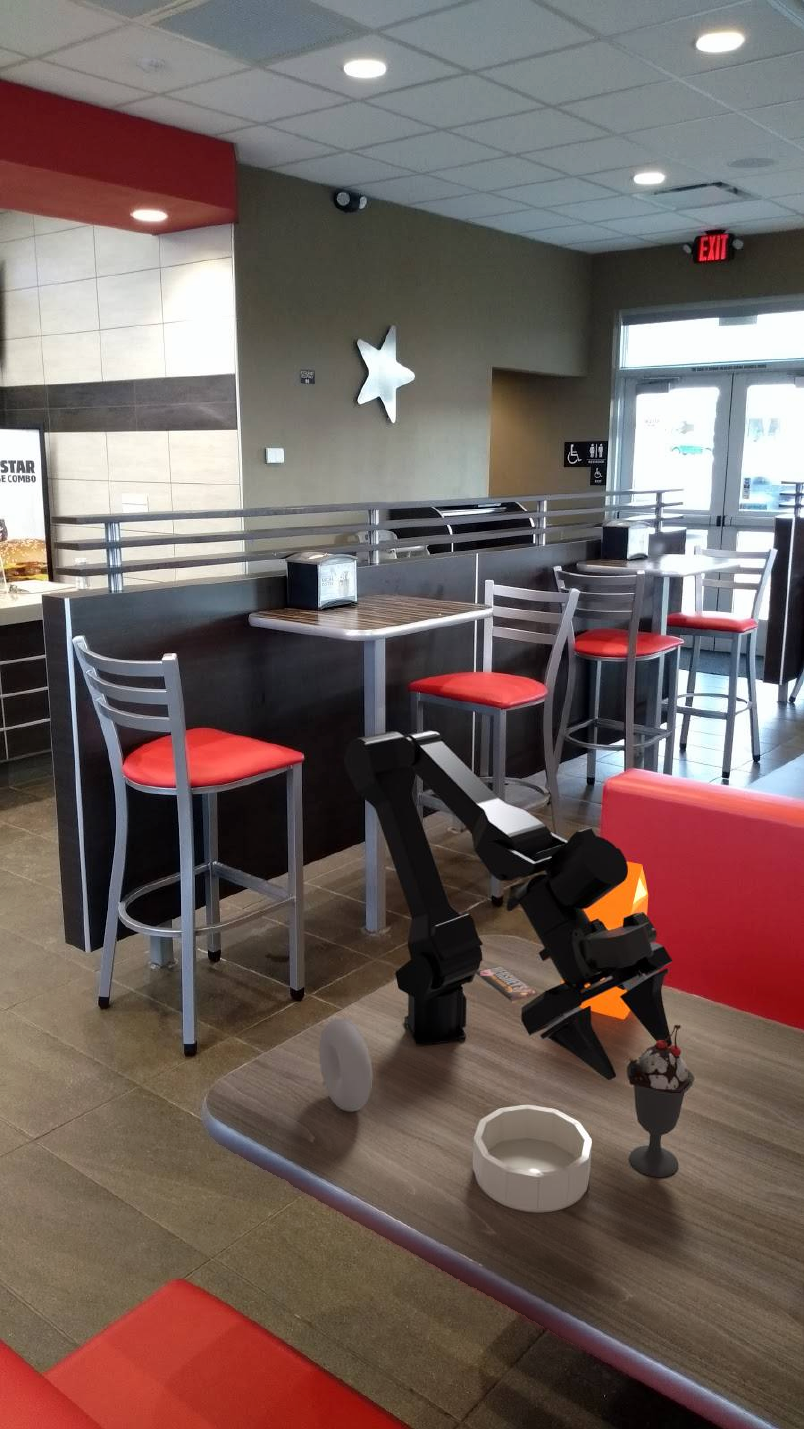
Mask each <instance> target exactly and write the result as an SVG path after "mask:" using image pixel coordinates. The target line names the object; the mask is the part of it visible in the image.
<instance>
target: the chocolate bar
mask: <svg viewBox="0 0 804 1429" xmlns="http://www.w3.org/2000/svg"><path fill="white" fill-rule="evenodd" d="M475 975H477V976H479V977H480V978H481V979H482V980H484V982H486V983H488V984H489V985H491V987H493V988H494V990H495V989H496V991H498V992H499V993H500V994H502V995H503V996H504V997H505V998H506V999H507V1000H509V1002H511V1004H515V1003H517V1002H519V1001H521V1000H524V999H527V998H531V997H535V996H536V997H537V996H539V993H538V992H537V991H535V990H534V989H532V988H531V987H529V986H528V985H527V984H526V983H525V982H523V981H521V980H520V979H519V978H517V977H516V976H515V975H513V974H512V973H511V972H510V971H509V970H507V969H506V968H504V967H503V966H501V965H499V966H495V967H492V968H486V969H482V970H481V969H480V970H478V971H477V972H476V973H475Z"/></svg>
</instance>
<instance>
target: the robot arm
mask: <svg viewBox="0 0 804 1429" xmlns="http://www.w3.org/2000/svg"><path fill="white" fill-rule="evenodd" d="M343 761H344V766H345V770H346V773H347V774H348V775H349V778H350V781H351V782H352V785H353V786H354V789H355V792H357V794H359V795H360V796H361V797H362V798H363V799H364V800H366V802H368V803H369V805H371V806H372V807H373V808H374V811H375V812H376V813H375V814H376V815H377V818H378V821H379V825H380V826H381V827H380V828H381V830H382V833H383V836H384V839H385V842H386V845H387V848H388V851H389V854H390V857H391V860H392V863H393V866H394V870H395V872H396V875H397V878H398V880H399V884H400V886H401V889H402V892H403V896H404V898H405V902H406V904H407V907H408V910H409V914H410V917H411V923H410V927H409V934H408V938H407V948H408V952H409V957H410V959H409V961H407V962H406V963H404V964H403V965H402V966H401V967H400V968H398V970H396V971H395V973H394V974H395V980H396V983H397V988H398V989H399V990H400V991H402V992H403V993H405V994H407V995H408V996H407V997H408V998H407V999H408V1002H407V1007H408V1008H407V1009H408V1010H407V1015H405V1016H404V1018H403V1019H404V1021H403V1022H405V1025H406V1027H407V1030H408V1032H409V1034H410V1035H411V1038H412V1039H413V1042H414V1044H415V1045H417V1046H422V1045H431V1044H440V1043H447V1042H456V1041H465V1040H466V1039H467V1034H466V1032H465V1030H464V1029H465V1028H466V1026H467V1006H468V1004H467V1002H468V1000H467V996H466V995H465V993H464V987H463V986H462V985H466V984H469V983H473V981H474V978H475V975H476V974H475V973H476V972H477V971H479V969H480V968H481V962H482V961H483V951H482V947H481V946H483V945H484V944H483V941H482V940H481V938H480V937H479V935H478V932H477V929H476V924H475V920H474V918H473V917H472V915H471V914H469V913H466V914H464V915H462V914H461V913H460V912H458V910H456V909H455V908H454V907H453V906H452V905H451V903H450V900H449V898H448V894H447V891H446V888H445V887H444V884H443V881H442V878H441V875H440V872H439V869H438V866H437V863H436V860H435V857H434V854H433V851H432V848H431V845H430V843H429V840H428V837H427V833H426V831H425V828H424V825H423V822H422V820H421V817H420V814H419V811H418V808H417V805H416V802H415V799H414V795H413V794H414V793H413V792H414V789H415V785H416V784H415V783H416V779H417V778H416V777H419V779H420V780H421V781H422V782H423V783H424V784H425V785H426V786H427V787H428V788H429V790H431V791H432V792H433V794H435V795H436V796H437V798H438V799H440V801H441V802H442V803H443V804H444V805H445V806H446V807H447V808H448V809H449V810H450V811H451V813H452V814H454V816H455V817H457V819H458V820H459V821H460V822H461V823H462V824H463V825H464V826H465V827H466V829H467V830H468V831H469V832H470V834H471V838H472V844H473V845H472V846H473V850H474V852H475V854H476V855H477V856H478V858H479V859H480V861H481V862H482V863H483V865H484V867H485V868H486V869H487V870H488V872H489V873H490V874H491V875H492V877H493V878H495V879H497V880H498V881H501V882H504V881H505V882H511V881H513V880H516V879H519V878H526V877H530V876H533V875H534V876H533V877H532V878H531V879H530V880H528V881H527V882H524V881H522V882H519V883H516V884H514V885H511V886H509V896H508V899H507V901H506V910H507V911H508V912H512V911H515V910H518V909H520V908H521V909H522V911H523V912H524V914H525V916H526V918H527V919H528V921H529V923H530V925H531V926H532V928H533V930H534V932H535V934H536V935H537V937H538V939H539V940H540V943H541V944H542V946H543V948H542V950H541V951H539V952H538V955H539V957H540V958H541V960H542V962H545V961H547V960H549V959H550V960H551V962H552V964H553V965H554V967H555V968H556V971H557V973H558V974H559V976H560V978H561V981H562V980H563V981H564V983H562V982H561V984H558V985H556V986H553V987H552V988H548V989H547V990H544V991H543V992H542V993H541V994H538V995H537V996H536V997H535V998H534V999H532V1000H530V1001H529V1002H528V1003H526V1004H525V1005H524V1006H522V1007H521V1022H522V1024H523V1026H524V1028H525V1030H526V1031H527V1034H528V1035H529V1036H530V1037H531V1036H532V1035H534V1034H536V1033H539V1032H541V1031H543V1030H545V1029H546V1030H545V1031H544V1032H542V1033H541V1034H540V1035H539V1036H540V1038H541V1039H542V1040H544V1039H549V1040H551V1041H553V1042H554V1043H555V1044H557V1045H559V1046H560V1047H562V1048H564V1049H565V1050H566V1051H568V1052H570V1053H571V1054H572V1055H574V1056H575V1057H576V1058H578V1059H579V1060H580V1061H582V1062H583V1063H585V1065H587V1066H588V1067H590V1068H591V1069H592V1070H594V1071H595V1072H596V1073H598V1074H599V1075H600V1076H602V1077H603V1078H604V1079H606V1080H607V1081H612V1080H613V1079H615V1078H616V1077H617V1073H616V1071H615V1068H614V1066H613V1064H612V1061H611V1060H610V1058H609V1056H608V1054H607V1052H606V1050H605V1048H604V1046H603V1044H602V1042H601V1041H600V1039H599V1037H598V1035H597V1033H596V1031H595V1029H594V1028H593V1025H592V1011H591V1006H588V1007H586V1008H584V1009H583V1008H581V1007H580V1005H582V1003H583V1002H585V1001H587V1000H589V999H591V998H593V997H596V996H598V995H600V994H602V993H604V992H606V991H608V990H610V989H612V988H614V987H618V988H620V989H622V990H625V989H626V991H627V992H626V993H624V994H623V995H621V996H620V998H621V999H622V1000H623V1001H624V1003H625V1004H626V1005H627V1006H628V1008H629V1009H630V1012H632V1014H633V1015H634V1016H635V1017H636V1018H637V1020H638V1021H639V1022H640V1023H641V1025H642V1026H643V1028H644V1029H645V1030H646V1031H647V1032H648V1033H649V1035H651V1038H653V1039H654V1041H656V1042H657V1041H658V1040H665V1039H667V1038H668V1037H669V1036H670V1035H671V1033H670V1029H669V1024H668V1020H667V1015H666V1010H665V1006H664V1001H663V995H662V994H663V993H662V990H663V989H662V988H663V984H664V980H665V977H666V976H667V975H669V967H666V966H668V965H670V964H671V963H672V962H673V959H672V957H671V956H670V954H669V952H668V950H667V949H666V948H665V946H664V945H662V944H660V943H658V942H655V941H656V939H657V936H658V933H657V930H656V929H655V927H654V924H653V923H652V921H651V920H650V919H649V917H648V915H647V916H646V915H645V913H644V912H639V913H634V914H631V915H629V916H627V917H624V919H623V926H620V927H618V928H615V929H610V930H608V929H607V928H606V927H605V925H604V923H603V922H602V921H600V920H599V919H595V920H593V921H590V919H589V918H588V916H587V914H586V913H585V911H584V909H587V908H589V907H591V906H592V905H594V904H595V903H596V902H598V901H599V900H600V899H601V898H603V897H604V896H605V895H607V894H608V893H609V892H611V891H612V890H613V889H615V888H616V887H617V886H619V885H620V884H621V883H622V882H624V881H625V879H626V878H627V875H628V865H627V862H628V861H627V859H626V857H625V855H624V853H623V851H622V850H621V849H620V848H619V847H616V845H615V844H614V843H612V842H611V841H610V840H608V839H606V838H604V837H601V836H596V834H595V832H594V831H593V828H592V827H585V828H583V829H580V830H577V831H575V833H573V834H572V836H570V837H569V839H568V840H566V839H565V838H563V837H560V836H559V835H557V834H555V833H553V832H551V830H550V829H549V828H548V827H547V825H546V824H544V823H543V822H542V821H541V820H539V819H538V818H536V817H535V816H534V815H532V814H531V813H529V812H528V811H526V810H524V809H522V808H519V807H516V806H514V805H512V804H511V805H510V804H508V803H505V802H504V801H503V800H502V799H500V798H499V797H498V796H497V795H496V794H495V793H494V792H493V791H492V790H491V789H490V788H489V787H488V786H487V785H486V784H485V783H484V782H483V781H482V780H481V779H480V778H479V777H478V776H477V775H476V774H475V773H474V772H473V771H472V770H471V769H470V768H469V767H468V766H467V765H466V764H465V763H464V762H463V761H462V760H461V759H460V758H459V757H458V756H457V754H456V753H454V752H453V750H451V749H450V748H449V747H448V746H447V745H446V743H445V740H444V738H443V736H442V735H441V734H440V733H439V732H437V731H433V730H428V729H427V730H423V731H418V732H412V733H409V734H405V735H403V734H401V733H400V732H398V731H393V730H391V731H387V732H381V733H377V734H376V733H375V734H372V735H371V734H370V735H367V736H362V737H357V738H354V739H352V740H351V741H350V742H349V744H348V745H347V747H346V751H345V752H344V756H343ZM543 871H544V872H545V873H546V874H543V873H542V874H538V873H541V872H543ZM535 874H536V875H535ZM664 967H666V968H664ZM663 968H664V969H663ZM603 978H605V979H603ZM602 979H603V980H602ZM587 984H590V986H588V987H586V988H585V985H587ZM666 1043H667V1047H670V1046H673V1042H672V1036H671V1037H670V1038H669V1039H668V1040H667V1041H666Z"/></svg>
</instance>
